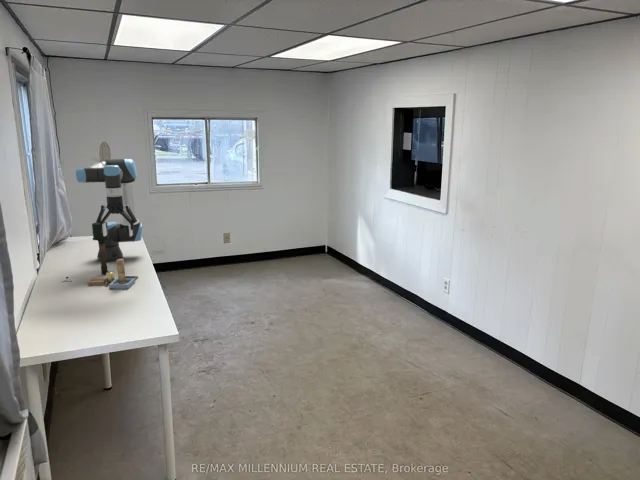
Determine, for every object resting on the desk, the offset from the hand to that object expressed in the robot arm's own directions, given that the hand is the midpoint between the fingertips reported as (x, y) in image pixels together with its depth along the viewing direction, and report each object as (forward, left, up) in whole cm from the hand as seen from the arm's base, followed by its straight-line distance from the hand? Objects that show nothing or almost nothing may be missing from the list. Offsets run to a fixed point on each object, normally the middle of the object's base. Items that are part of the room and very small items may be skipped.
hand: (118, 235), depth 250 cm
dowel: (+2, +1, -27) cm, 27 cm away
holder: (-8, 0, -27) cm, 28 cm away
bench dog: (-3, -8, -27) cm, 28 cm away
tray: (+2, 0, -27) cm, 27 cm away
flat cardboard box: (-3, -14, -28) cm, 31 cm away
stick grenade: (-19, -18, -27) cm, 38 cm away
